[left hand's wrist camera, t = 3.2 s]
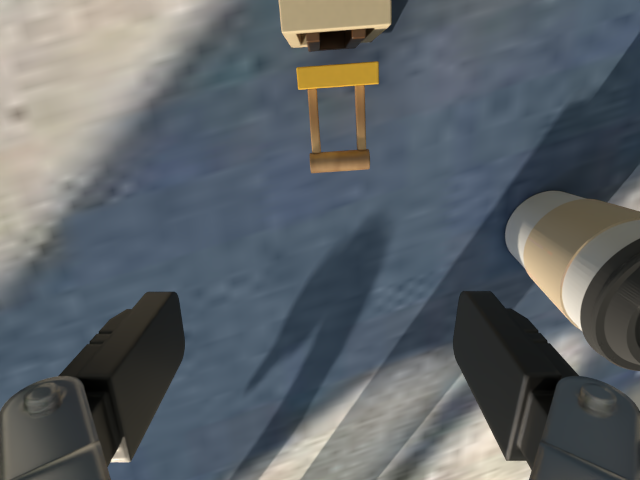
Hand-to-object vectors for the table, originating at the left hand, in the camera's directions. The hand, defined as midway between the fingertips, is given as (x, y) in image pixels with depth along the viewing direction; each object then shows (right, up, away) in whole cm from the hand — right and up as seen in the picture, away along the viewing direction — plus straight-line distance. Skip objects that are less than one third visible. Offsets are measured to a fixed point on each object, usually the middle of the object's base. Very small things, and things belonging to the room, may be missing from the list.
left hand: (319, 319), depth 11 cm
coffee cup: (+20, +3, +23) cm, 31 cm away
